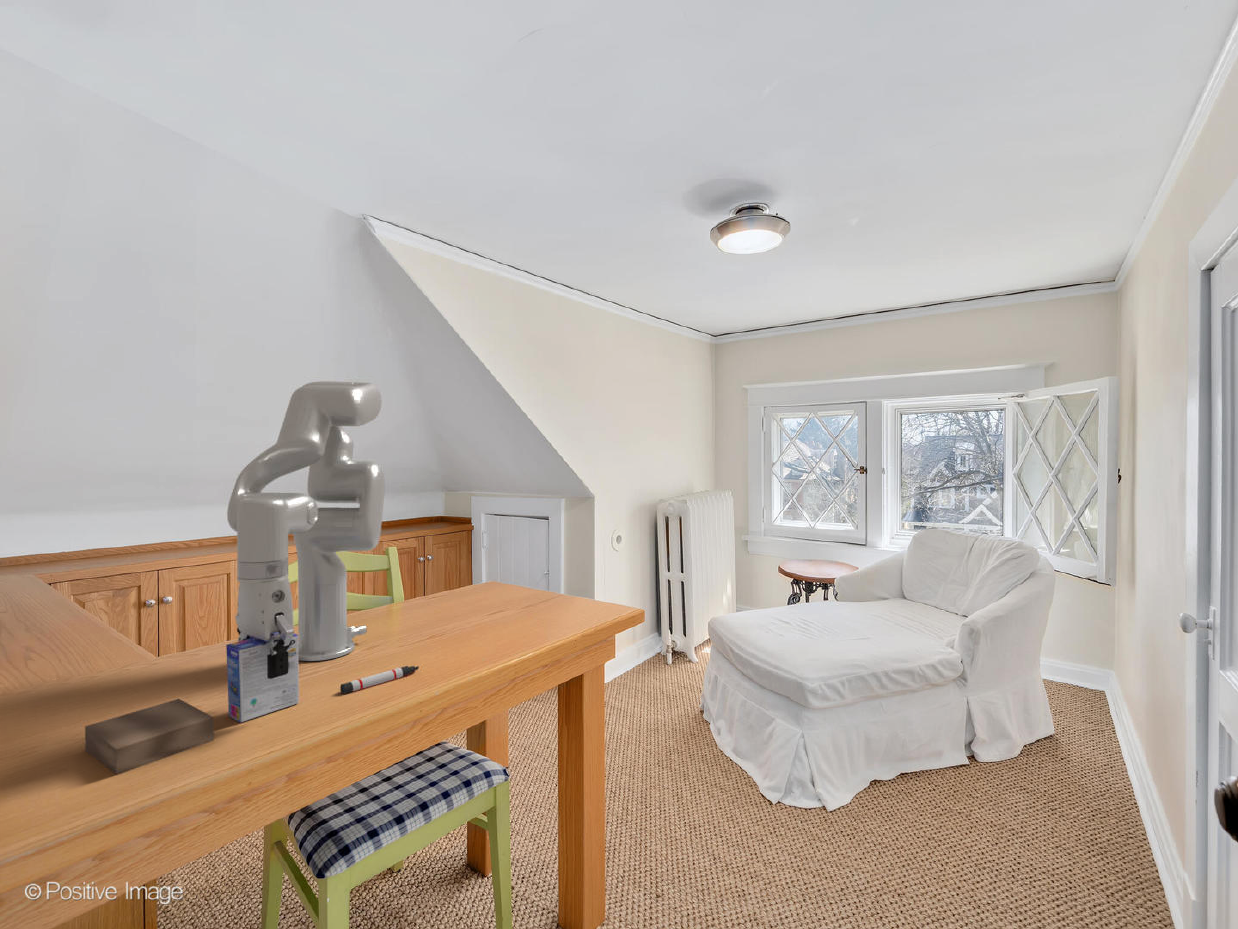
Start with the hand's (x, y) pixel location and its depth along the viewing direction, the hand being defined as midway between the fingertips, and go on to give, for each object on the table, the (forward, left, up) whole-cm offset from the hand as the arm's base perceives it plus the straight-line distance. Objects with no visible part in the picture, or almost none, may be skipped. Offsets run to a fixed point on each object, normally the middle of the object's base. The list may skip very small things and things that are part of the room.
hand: (263, 670), depth 104 cm
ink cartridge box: (0, 0, -7) cm, 7 cm away
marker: (-19, +6, -7) cm, 21 cm away
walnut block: (+16, -1, -7) cm, 17 cm away
